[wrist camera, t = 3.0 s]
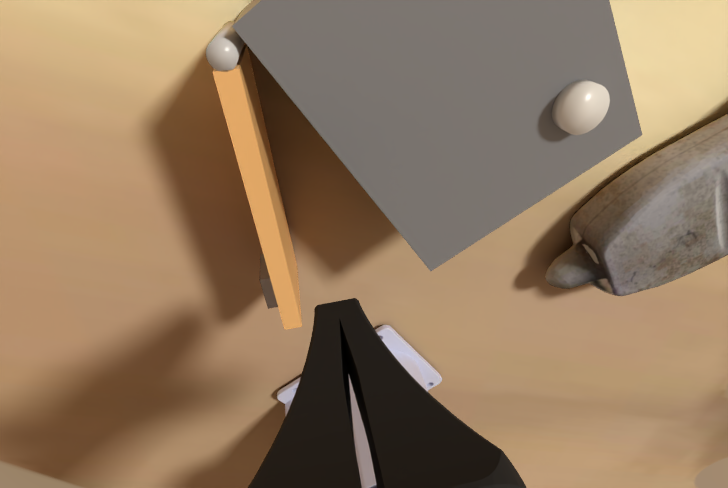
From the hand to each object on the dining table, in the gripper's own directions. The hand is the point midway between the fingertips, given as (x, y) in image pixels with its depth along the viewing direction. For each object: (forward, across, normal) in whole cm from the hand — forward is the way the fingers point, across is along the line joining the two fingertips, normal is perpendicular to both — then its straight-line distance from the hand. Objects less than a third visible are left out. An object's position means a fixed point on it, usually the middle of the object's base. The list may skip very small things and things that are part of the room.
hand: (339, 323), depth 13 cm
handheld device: (+10, -22, +3) cm, 24 cm away
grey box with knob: (+9, -6, -6) cm, 12 cm away
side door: (+9, +2, -2) cm, 9 cm away
